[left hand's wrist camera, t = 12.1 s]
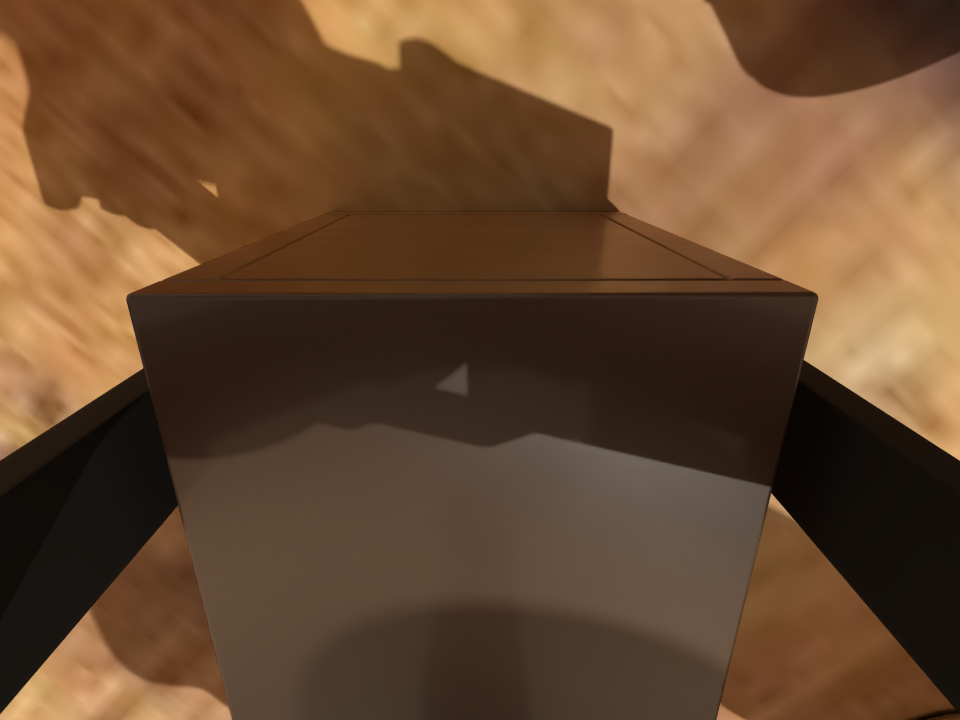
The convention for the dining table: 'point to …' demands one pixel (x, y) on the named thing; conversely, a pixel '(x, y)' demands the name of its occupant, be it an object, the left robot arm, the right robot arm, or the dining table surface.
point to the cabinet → (473, 461)
